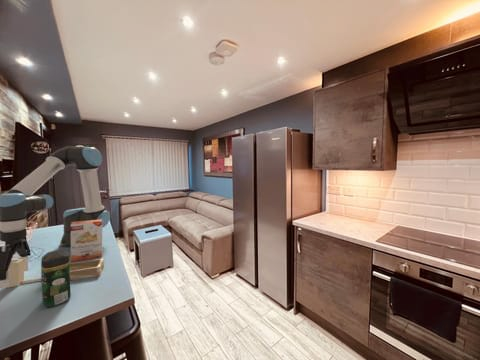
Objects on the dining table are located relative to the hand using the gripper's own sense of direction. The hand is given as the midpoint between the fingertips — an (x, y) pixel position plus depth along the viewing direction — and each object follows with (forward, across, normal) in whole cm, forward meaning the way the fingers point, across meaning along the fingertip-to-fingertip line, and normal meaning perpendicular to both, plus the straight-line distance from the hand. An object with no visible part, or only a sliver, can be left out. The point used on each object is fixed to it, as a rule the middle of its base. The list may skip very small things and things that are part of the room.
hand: (14, 278), depth 85 cm
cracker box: (+3, -20, +21) cm, 29 cm away
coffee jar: (+3, +20, +20) cm, 28 cm away
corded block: (+3, 0, +7) cm, 8 cm away
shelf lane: (+3, 0, +23) cm, 23 cm away
